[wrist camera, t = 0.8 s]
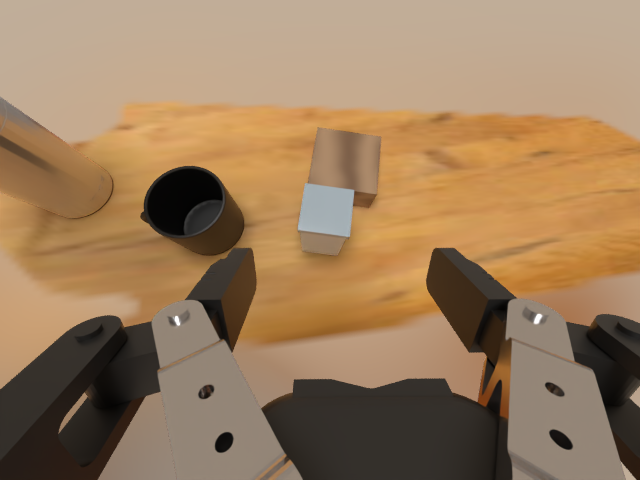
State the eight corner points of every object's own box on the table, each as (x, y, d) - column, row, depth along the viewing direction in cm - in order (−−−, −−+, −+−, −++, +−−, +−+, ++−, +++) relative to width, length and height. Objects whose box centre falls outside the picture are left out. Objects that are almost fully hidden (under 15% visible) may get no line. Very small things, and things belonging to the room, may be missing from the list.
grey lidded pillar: (300, 252, 37) (297, 229, 27) (305, 216, 39) (305, 183, 28) (338, 257, 37) (349, 237, 27) (342, 221, 39) (354, 190, 28)
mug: (165, 202, 38) (123, 170, 30) (243, 195, 39) (224, 162, 30) (162, 261, 36) (115, 245, 27) (245, 252, 37) (226, 233, 28)
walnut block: (307, 199, 40) (307, 184, 35) (316, 148, 43) (317, 127, 38) (368, 208, 40) (376, 194, 35) (373, 156, 43) (381, 136, 38)
